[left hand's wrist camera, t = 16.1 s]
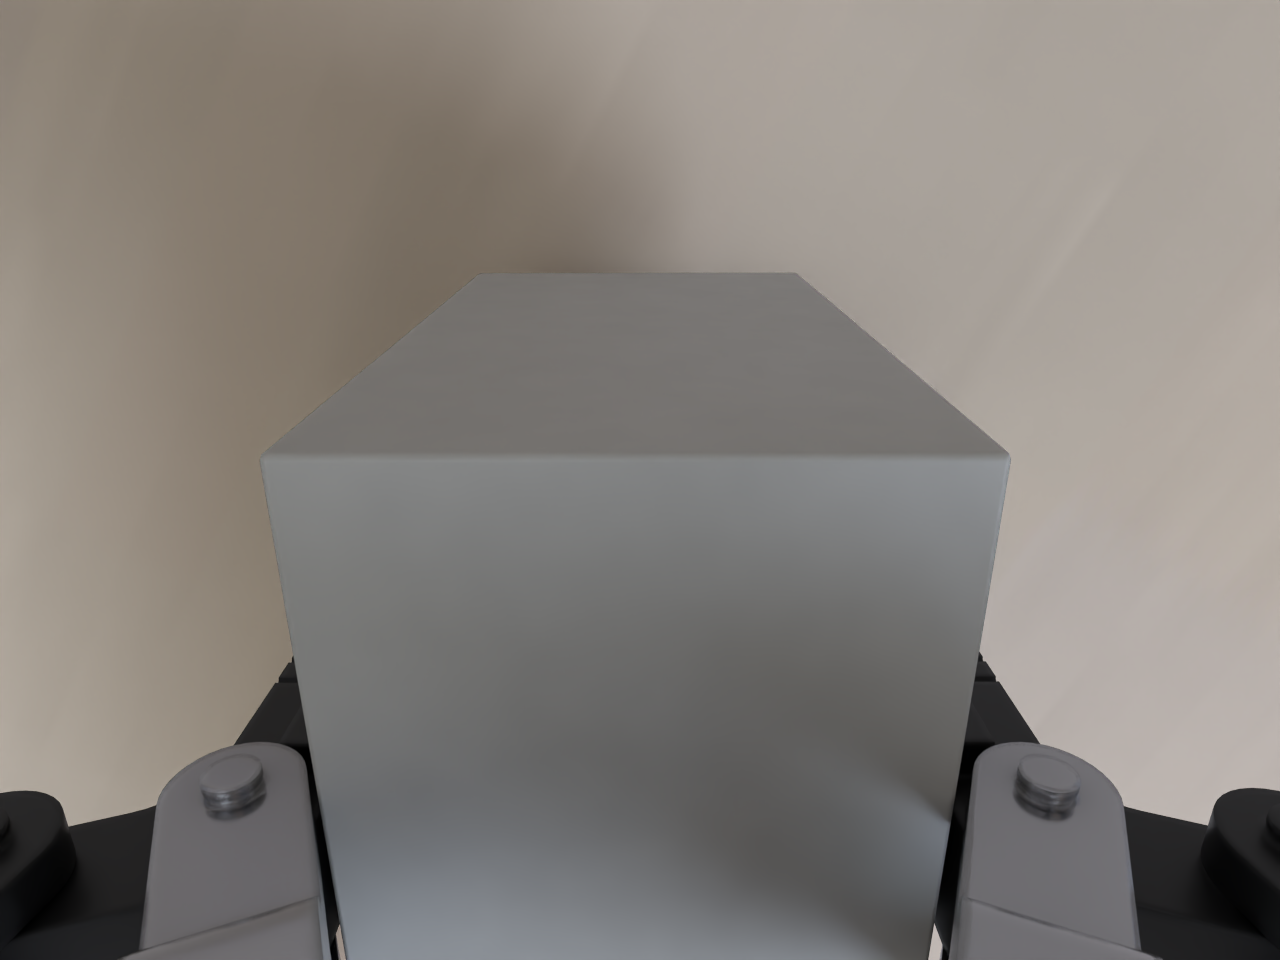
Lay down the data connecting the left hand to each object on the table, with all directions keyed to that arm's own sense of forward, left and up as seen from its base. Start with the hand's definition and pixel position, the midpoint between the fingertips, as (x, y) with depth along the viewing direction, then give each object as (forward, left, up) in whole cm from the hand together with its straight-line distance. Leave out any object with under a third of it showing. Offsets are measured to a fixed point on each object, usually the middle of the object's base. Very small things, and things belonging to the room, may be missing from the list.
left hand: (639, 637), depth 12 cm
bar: (+7, +6, -5) cm, 10 cm away
